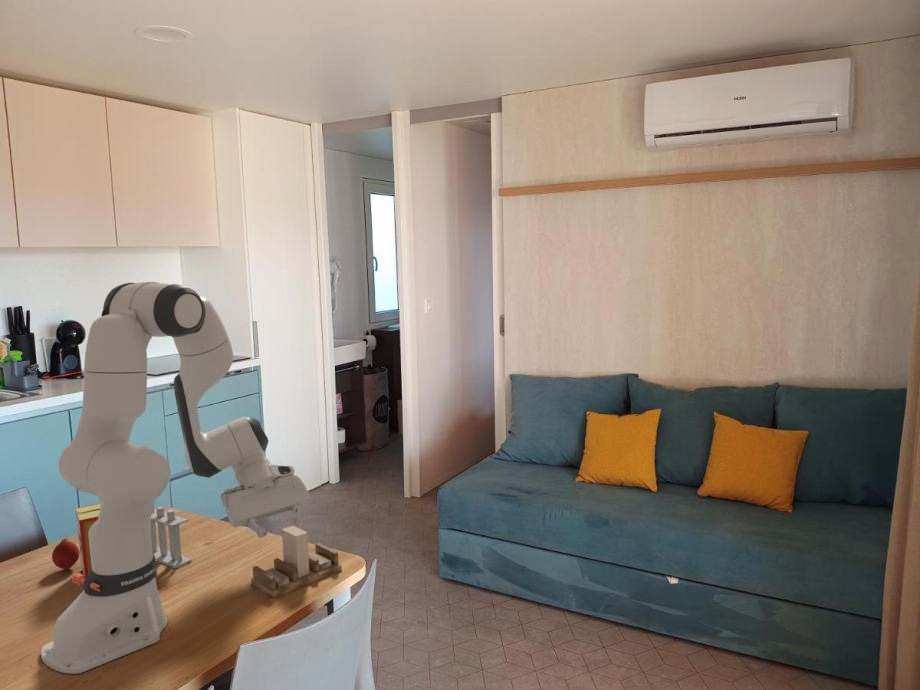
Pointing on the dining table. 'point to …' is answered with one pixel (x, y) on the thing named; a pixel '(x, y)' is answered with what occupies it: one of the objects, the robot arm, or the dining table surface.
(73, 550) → the onion
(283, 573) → the slotted holder block
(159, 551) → the test tube rack
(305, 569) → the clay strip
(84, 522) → the baking soda box
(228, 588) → the dining table surface
